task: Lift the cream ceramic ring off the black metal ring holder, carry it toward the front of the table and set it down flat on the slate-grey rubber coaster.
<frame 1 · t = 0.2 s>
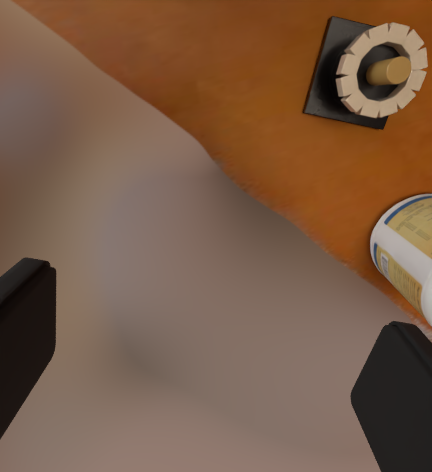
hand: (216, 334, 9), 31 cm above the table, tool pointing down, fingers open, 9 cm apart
ring: (376, 73, 30), point 5 cm above the table, touching ring holder
ring holder: (355, 76, 35), on the table
supplement tub: (413, 235, 42), on the table
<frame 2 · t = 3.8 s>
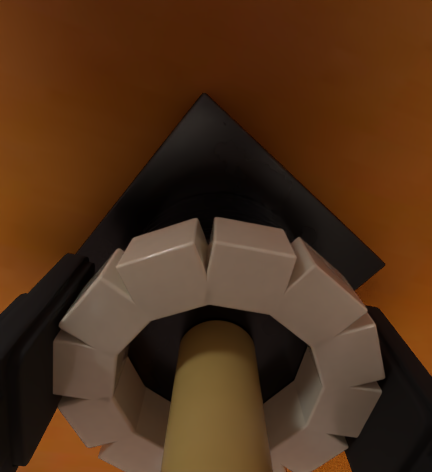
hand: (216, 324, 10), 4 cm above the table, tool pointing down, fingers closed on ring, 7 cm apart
ring: (216, 349, 9), point 5 cm above the table, touching gripper, ring holder
ring holder: (216, 262, 13), on the table
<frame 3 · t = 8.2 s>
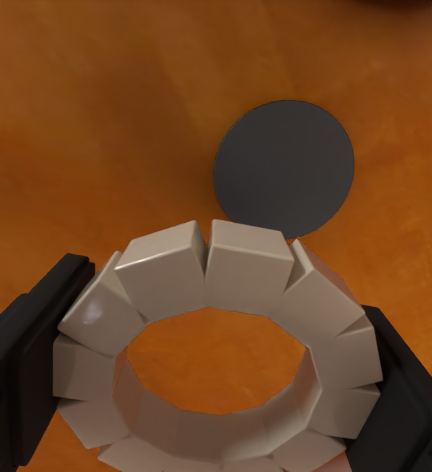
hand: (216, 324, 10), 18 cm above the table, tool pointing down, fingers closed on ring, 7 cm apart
ring: (215, 351, 9), point 19 cm above the table, touching gripper
coaster: (282, 174, 26), on the table
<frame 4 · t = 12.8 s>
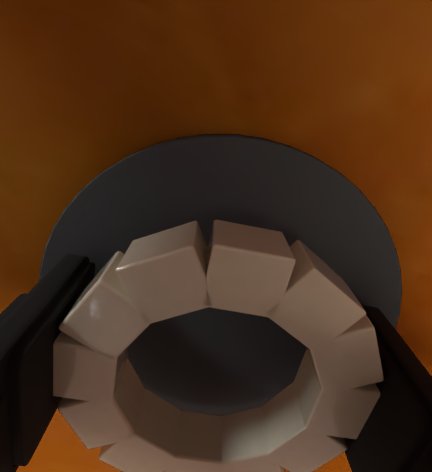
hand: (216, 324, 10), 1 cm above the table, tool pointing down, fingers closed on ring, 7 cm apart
ring: (216, 351, 9), point 2 cm above the table, touching gripper
coaster: (219, 311, 10), on the table
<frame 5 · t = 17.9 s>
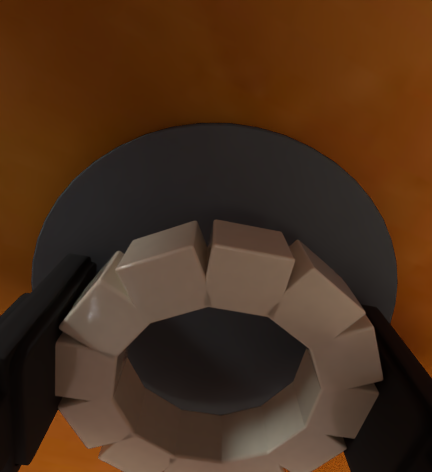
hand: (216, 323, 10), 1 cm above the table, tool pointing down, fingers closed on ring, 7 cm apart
ring: (216, 351, 9), point 2 cm above the table, touching gripper
coaster: (214, 303, 10), on the table
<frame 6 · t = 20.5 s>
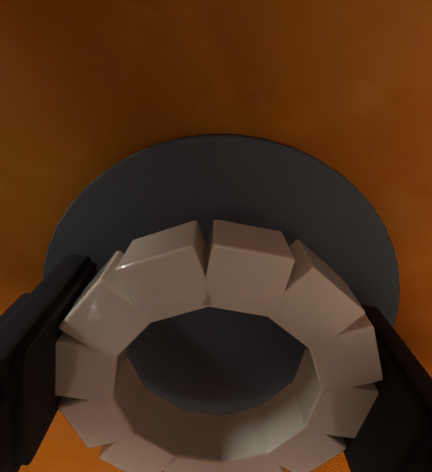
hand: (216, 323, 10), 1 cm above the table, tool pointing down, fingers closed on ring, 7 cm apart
ring: (216, 350, 9), point 2 cm above the table, touching gripper
coaster: (219, 309, 11), on the table
when the fingers open (2 cm above the table, at t = 22.9 s): ring drops 2 cm, resting on coaster.
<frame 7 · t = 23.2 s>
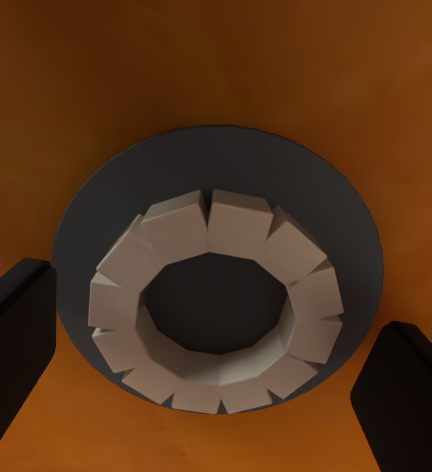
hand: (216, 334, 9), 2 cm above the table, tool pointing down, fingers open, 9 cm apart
ring: (215, 298, 11), resting on coaster
coaster: (216, 290, 11), on the table
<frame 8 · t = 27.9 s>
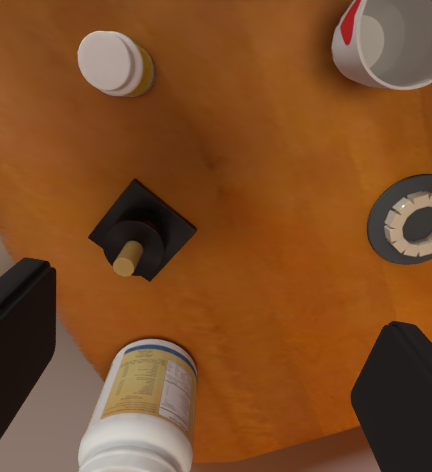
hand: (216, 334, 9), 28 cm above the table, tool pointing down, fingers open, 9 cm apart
ring: (417, 222, 38), resting on coaster
coaster: (415, 220, 38), on the table
supplement bottle: (132, 70, 32), on the table
cup: (357, 46, 31), on the table
ring holder: (143, 231, 39), on the table
supplement tub: (156, 367, 47), on the table
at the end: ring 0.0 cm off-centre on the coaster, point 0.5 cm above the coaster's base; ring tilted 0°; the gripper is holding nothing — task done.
